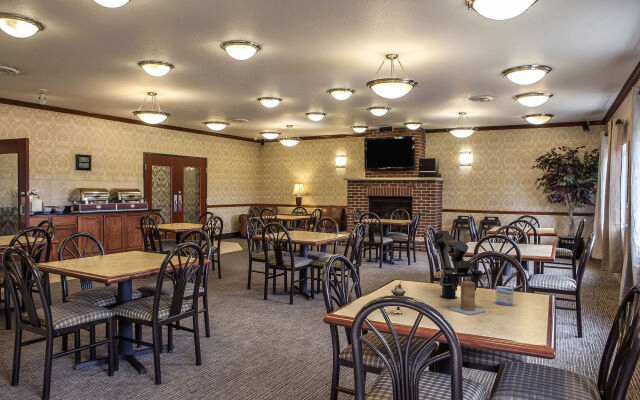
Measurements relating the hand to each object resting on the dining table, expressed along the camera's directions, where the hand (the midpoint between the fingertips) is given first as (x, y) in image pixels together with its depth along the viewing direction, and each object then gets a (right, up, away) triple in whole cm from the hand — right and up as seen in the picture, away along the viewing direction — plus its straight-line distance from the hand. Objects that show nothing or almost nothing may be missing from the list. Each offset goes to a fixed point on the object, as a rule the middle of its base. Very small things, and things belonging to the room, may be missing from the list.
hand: (466, 290), depth 221 cm
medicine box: (+23, -10, +12) cm, 28 cm away
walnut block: (0, -9, -2) cm, 9 cm away
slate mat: (0, -9, -2) cm, 10 cm away
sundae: (-34, -9, -7) cm, 36 cm away
